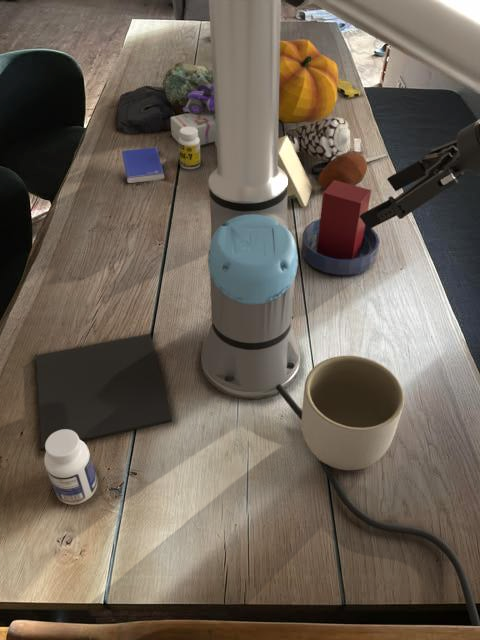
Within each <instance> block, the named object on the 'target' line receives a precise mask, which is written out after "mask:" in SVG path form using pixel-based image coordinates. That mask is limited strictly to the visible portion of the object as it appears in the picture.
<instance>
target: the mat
mask: <svg viewBox="0 0 480 640" xmlns="http://www.w3.org/2000/svg"><path fill="white" fill-rule="evenodd" d="M35 362H36V363H35V364H36V378H37V379H36V381H37V396H38V397H37V398H38V413H39V414H38V415H39V428H40V445H41V447H40V448H41V450H42V451H46V449H45V443H46V441H47V439H48V437H49V436H50V435H51V434H53V433H54V432H56V431H58V430H63V429H68V430H72V431H74V432H75V433H76V434H77V435H78V437H79V440H81V441H83V442H86V441H90V440H95V439H100V438H104V437H105V438H106V437H109V436H113V435H118V434H123V433H127V432H132V431H136V430H141V429H145V428H149V427H155V426H157V425H162V424H167V423H171V422H173V416H172V413H171V409H170V406H169V401H168V397H167V394H166V390H165V389H166V388H165V385H164V381H163V378H162V375H161V370H160V366H159V363H158V359H157V355H156V351H155V347H154V342H153V339H152V336H151V333H147V334H140V335H137V336H129V337H125V338H120V339H115V340H110V341H103V342H98V343H94V344H89V345H84V346H83V345H82V346H80V347H79V346H78V347H73V348H68V349H63V350H58V351H53V352H46V353H41V354H37V355H35Z"/></svg>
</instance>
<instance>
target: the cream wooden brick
mask: <svg viewBox="0 0 480 640" xmlns="http://www.w3.org/2000/svg"><path fill="white" fill-rule="evenodd" d="M278 167H279V168H281V169H282V170H283V171H284V172H285V174H286V175H287V178H288V193H287V199H288V200H292V199H295V198H296V199H297V201H298V203H299V205H300V207H302V208H303V207H306V206H307V205H308V203H309V199H310V196H311V193H312V191H313V188H312V184H311V181H310V179H309V177H308V175H307V173H306V171H305V169H304V167H303V165H302V163H301V161H300V158H299V157H298V153H296V152H295V150H294V148H293V146H292V144H291V142H290V140H289V138H288V135H284V136H281V137H278Z"/></svg>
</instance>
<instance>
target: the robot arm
mask: <svg viewBox="0 0 480 640" xmlns="http://www.w3.org/2000/svg"><path fill="white" fill-rule="evenodd" d="M282 1H284V2H285V3H287V4H288V5H290V6H292V7H294V8H297V9H303V8H305V7H308V6H310V5H315V6H316V7H318V8H320V9H322V10H324V11H325V12H327V13H329V14H331V15H333V16H334V17H336V18H338V19H341V20H342V21H343V22H346V23H347V24H349V25H351V26H353V27H355V28H357V29H359V30H361V31H362V32H364V33H366V34H368V35H370V36H371V37H373V38H374V39H377V40H379V42H380V41H381V43H382V42H383V43H384V44H386V45H388V46H390V47H391V48H393V49H394V50H397V51H398V52H400V53H402V54H404V55H406V56H408V57H410V58H411V59H413V60H415V61H417V62H419V63H420V64H422V65H424V66H426V67H428V68H430V69H431V70H432V71H434V72H436V73H439V74H441V75H443V76H444V77H446V78H448V79H449V80H451V81H453V82H455V83H457V84H458V85H460V86H463V87H464V88H466V89H468V90H470V91H472V92H474V93H475V94H477V95H479V96H480V0H208V11H209V12H208V13H209V28H210V29H209V30H210V31H209V32H210V46H211V47H210V48H211V67H212V70H213V86H214V104H215V122H216V140H217V147H216V156H217V168H216V169H214V170H213V171H212V172H211V174H210V175H209V177H208V196H209V197H208V198H209V212H210V243H209V249H208V254H207V265H208V271H209V277H210V278H209V282H210V286H209V287H210V309H211V325H210V327H209V330H208V333H207V334H206V337H205V339H204V342H203V344H202V349H201V354H200V361H201V369H202V372H203V375H204V377H205V379H206V380H207V381H208V383H209V384H211V386H213V388H215V389H217V391H220V392H221V393H223V394H225V395H227V396H230V397H232V398H233V397H234V398H238V399H243V400H259V399H265V398H269V397H272V396H275V395H277V394H280V395H281V397H282V398H283V399H284V401H285V402H286V403H287V405H288V406H289V407H290V409H291V410H292V411H293V412H294V413H295V414H296V416H297V417H298V418H299V419H300V421H302V408H301V407H299V405H298V404H297V403H296V402H295V400H294V399H293V397H292V396H291V395H290V394H289V392H288V391H287V390H286V389H288V388H289V386H291V385H292V384H293V382H295V380H296V378H297V376H298V374H299V370H300V366H301V365H300V364H301V352H300V346H299V343H298V341H297V339H296V336H295V332H294V330H293V327H292V317H293V307H294V294H295V284H296V283H295V282H296V275H297V271H298V266H299V265H298V263H299V258H298V250H297V243H296V240H295V237H294V236H293V234H292V232H291V231H290V229H288V198H287V193H288V178H287V175H286V174H285V172H284V171H283V170H282V169H281V168H279V167H278V139H279V124H280V123H279V70H280V41H281V17H282V16H281V15H282V14H281V13H282V11H281V10H282V8H281V7H282V5H281V4H282ZM465 171H469V172H471V173H472V174H474V175H476V176H480V119H478V120H476V121H473V123H471V124H468V125H467V126H466V127H464V128H462V129H460V130H459V131H458V133H457V135H456V139H455V140H452V141H449V142H447V143H444V144H442V145H439V146H436V147H434V148H432V149H429V150H427V152H426V155H423V156H422V157H421V158H420V160H417V161H415V162H413V163H412V164H410V165H408V166H406V167H404V168H403V169H401V170H399V171H397V172H395V173H394V174H392V175H390V176H388V178H386V180H387V182H388V183H389V185H390V186H391V187H392V189H393V190H394V192H398V191H399V190H401V189H403V188H405V187H407V186H408V185H410V186H409V187H408V188H407V189H406V190H404V191H403V192H402V193H401V194H399V195H398V196H396V197H394V196H389V197H387V198H388V199H387V200H384V201H383V202H382V203H380V204H378V205H376V206H374V207H372V208H369V209H368V211H366V212H365V213H363V214H361V215H360V216H359V217H360V218H361V219H362V221H363V222H364V224H365V225H366V226H367V228H368V229H371V228H372V229H374V228H375V227H377V226H379V225H381V224H383V223H385V222H387V221H389V220H391V219H393V218H395V217H397V218H398V219H399V220H401V219H404V218H405V217H406V216H408V215H409V214H411V213H412V212H414V211H415V210H417V209H418V208H420V207H421V206H423V205H425V204H426V203H427V202H429V201H430V200H432V199H434V198H435V197H436V196H438V195H439V194H441V193H442V192H444V191H445V190H448V189H449V188H451V187H453V186H455V185H457V184H458V183H459V180H458V179H459V178H460V177H462V176H463V175H464V173H465ZM412 183H413V184H412ZM411 184H412V185H411ZM318 460H319V459H318ZM319 463H320V465H321V468H322V470H323V472H324V473H325V475H326V478H327V479H328V481H329V483H330V484H331V486H332V487H333V489H334V491H335V493H336V495H337V496H338V498H339V499H340V501H341V502H342V503H343V505H344V506H345V507H346V508H347V509H348V510H349V512H350V513H352V514H353V515H354V516H355V517H356V518H357V519H359V520H360V521H362V522H363V523H365V524H366V525H368V526H370V527H372V528H375V529H378V530H380V531H385V532H388V533H396V534H405V535H412V536H416V537H420V538H422V539H425V540H427V541H429V542H431V543H432V544H433V545H435V546H436V547H438V548H439V550H440V551H442V552H443V554H444V555H445V556H446V557H447V558H448V560H449V561H450V563H451V564H452V566H453V568H454V570H455V572H456V574H457V577H458V580H459V584H460V586H461V591H462V594H463V598H464V602H465V606H466V610H467V612H468V617H469V620H470V624H471V625H472V626H473V627H474V626H480V616H479V614H478V610H477V607H476V603H475V599H474V596H473V592H472V591H473V590H472V588H471V584H470V581H469V578H468V576H467V572H466V570H465V568H464V566H463V564H462V562H461V560H460V558H459V556H458V555H457V554H456V553H455V551H454V550H453V548H451V547H450V545H448V543H446V542H445V540H443V539H442V538H441V537H439V536H438V535H436V534H435V533H433V532H431V531H429V530H426V529H424V528H421V527H418V526H417V527H416V526H411V525H404V524H397V523H396V524H395V523H389V522H385V521H381V520H378V519H376V518H374V517H372V516H370V515H368V514H367V513H366V512H364V511H363V510H362V509H361V508H359V507H358V506H357V505H356V504H355V503H354V502H353V501H352V500H351V498H350V497H349V496H348V494H347V493H346V492H345V490H344V488H343V487H342V485H341V483H340V482H339V479H338V478H337V476H336V475H335V473H334V471H333V470H332V467H331V466H329V465H327V464H325V463H324V462H322V461H321V460H319Z"/></svg>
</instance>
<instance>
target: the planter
mask: <svg viewBox="0 0 480 640" xmlns="http://www.w3.org/2000/svg"><path fill="white" fill-rule="evenodd" d="M404 404H405V393H404V389H403V386H402V385H401V382H400V381H399V379H398V378H397V376H396V375H395V374H394V373H393V372H392V371H391V370H390V369H389V368H387V367H385V365H382V364H381V363H379V362H377V361H375V360H372V359H370V358H366V357H362V356H359V355H358V356H357V355H338V356H337V355H336V356H332V357H329V358H326V359H324V360H323V361H321V362H319V363H317V364H316V365H315V366H314V367H313V368H311V370H310V371H309V373H308V374H307V376H306V379H305V382H304V388H303V398H302V408H301V410H302V420H301V430H302V435H303V439H304V441H305V444H306V445H307V447H308V448H309V450H310V451H311V453H312V454H313V455H314V456H315V457H316V458H317V459H318V460H321V461H322V462H324V463H325V464H327V465H329V466H330V468H334V469H337V470H342V471H357V470H362V469H365V468H368V467H371V466H372V465H374V464H375V463H376V462H378V461H379V460H380V459H381V458H383V457H384V456H385V454H386V453H387V451H388V449H389V448H390V446H391V444H392V442H393V439H394V437H395V434H396V432H397V428H398V424H399V422H400V418H401V415H402V412H403V408H404Z"/></svg>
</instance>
